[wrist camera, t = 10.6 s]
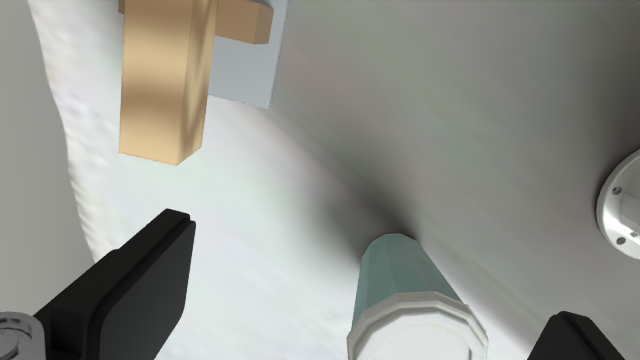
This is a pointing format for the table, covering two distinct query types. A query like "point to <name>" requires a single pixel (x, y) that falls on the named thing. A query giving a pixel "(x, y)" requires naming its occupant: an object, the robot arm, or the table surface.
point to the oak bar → (165, 77)
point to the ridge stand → (246, 49)
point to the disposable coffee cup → (410, 308)
